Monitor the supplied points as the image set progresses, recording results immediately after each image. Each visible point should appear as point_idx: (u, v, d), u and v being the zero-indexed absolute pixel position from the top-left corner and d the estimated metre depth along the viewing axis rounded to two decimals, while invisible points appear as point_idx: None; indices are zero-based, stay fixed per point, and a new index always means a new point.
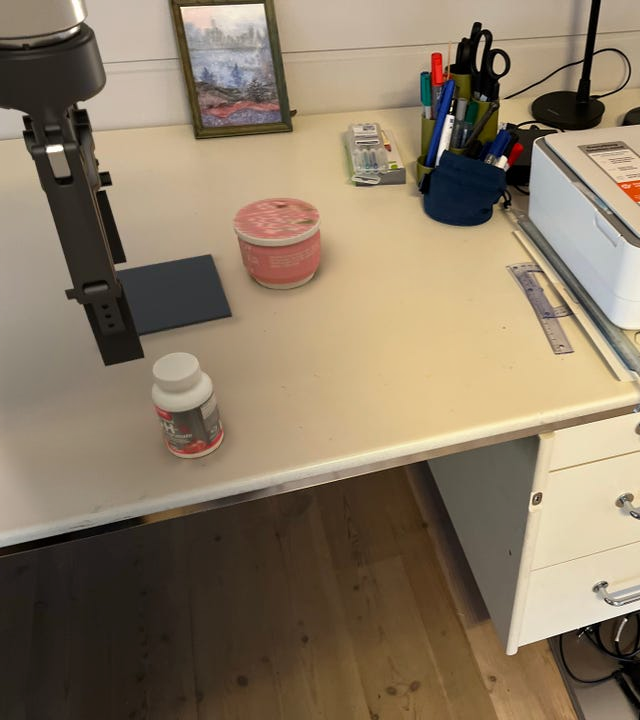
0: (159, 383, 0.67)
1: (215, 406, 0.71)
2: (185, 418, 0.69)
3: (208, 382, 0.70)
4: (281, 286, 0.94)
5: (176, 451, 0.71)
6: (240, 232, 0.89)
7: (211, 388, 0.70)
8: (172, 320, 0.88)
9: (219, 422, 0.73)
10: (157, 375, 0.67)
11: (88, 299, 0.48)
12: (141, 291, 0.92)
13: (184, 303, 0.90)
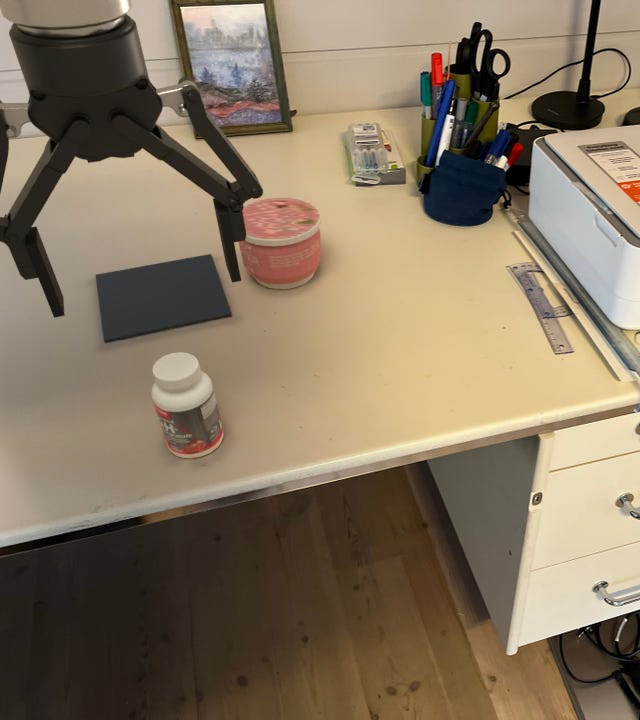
0: (159, 383, 0.67)
1: (215, 406, 0.71)
2: (185, 418, 0.69)
3: (208, 382, 0.70)
4: (281, 286, 0.94)
5: (176, 451, 0.71)
6: None
7: (211, 388, 0.70)
8: (172, 320, 0.88)
9: (219, 422, 0.73)
10: (157, 375, 0.67)
11: None
12: (141, 291, 0.92)
13: (184, 303, 0.90)
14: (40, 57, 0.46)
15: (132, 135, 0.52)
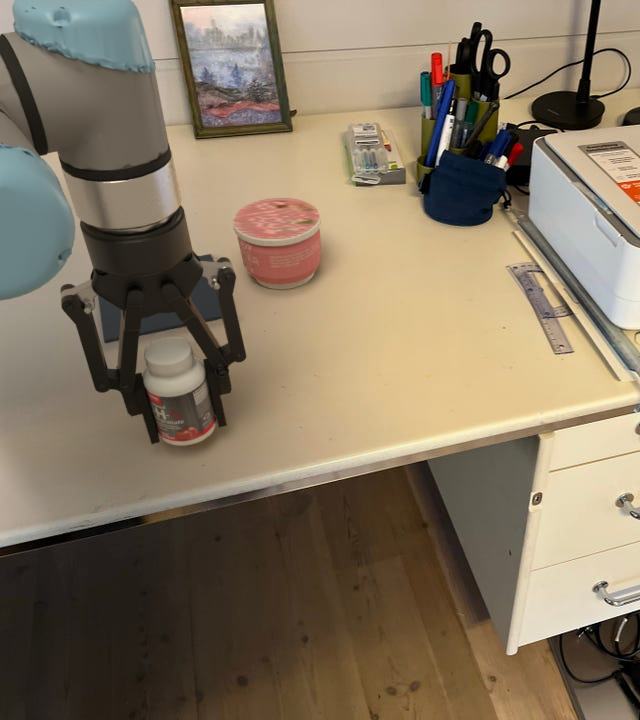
0: (151, 367, 0.65)
1: (208, 392, 0.70)
2: (177, 404, 0.67)
3: (201, 367, 0.68)
4: (281, 286, 0.94)
5: (167, 438, 0.70)
6: (240, 232, 0.89)
7: (204, 374, 0.69)
8: (172, 320, 0.88)
9: (212, 409, 0.71)
10: (148, 359, 0.65)
11: None
12: None
13: None
14: (107, 249, 0.56)
15: (177, 297, 0.62)
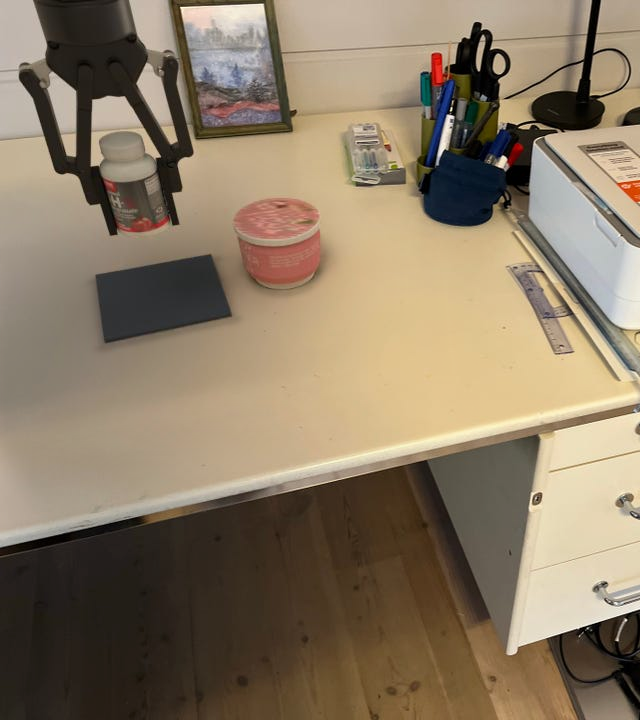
0: (105, 152, 0.72)
1: (159, 186, 0.77)
2: (130, 190, 0.74)
3: (153, 160, 0.75)
4: (281, 286, 0.94)
5: (124, 229, 0.77)
6: (240, 232, 0.89)
7: (155, 166, 0.75)
8: (172, 320, 0.88)
9: (165, 206, 0.78)
10: (102, 144, 0.72)
11: None
12: (141, 291, 0.92)
13: (184, 303, 0.90)
14: (55, 15, 0.62)
15: (124, 78, 0.69)
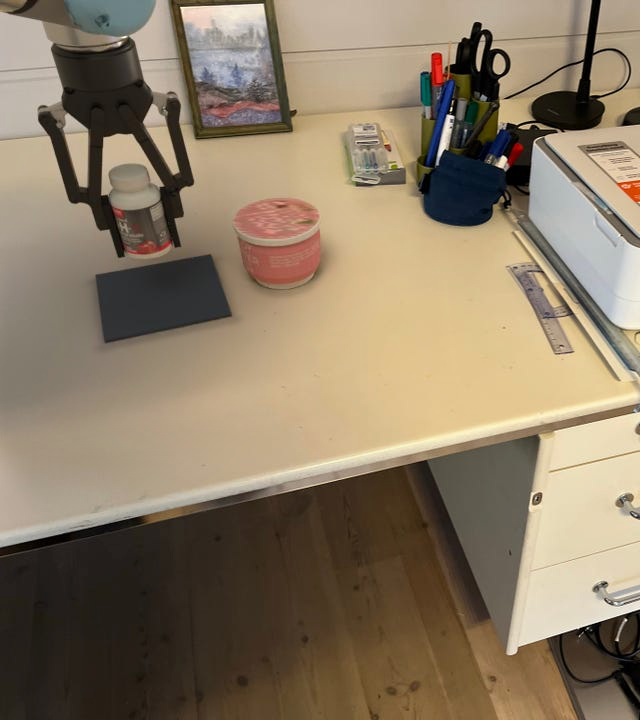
0: (114, 183, 0.80)
1: (163, 213, 0.84)
2: (136, 217, 0.82)
3: (157, 189, 0.83)
4: (281, 286, 0.94)
5: (131, 251, 0.85)
6: (240, 232, 0.89)
7: (159, 195, 0.83)
8: (172, 320, 0.88)
9: (168, 230, 0.86)
10: (112, 176, 0.80)
11: None
12: (141, 291, 0.92)
13: (184, 303, 0.90)
14: (72, 65, 0.70)
15: (132, 118, 0.76)
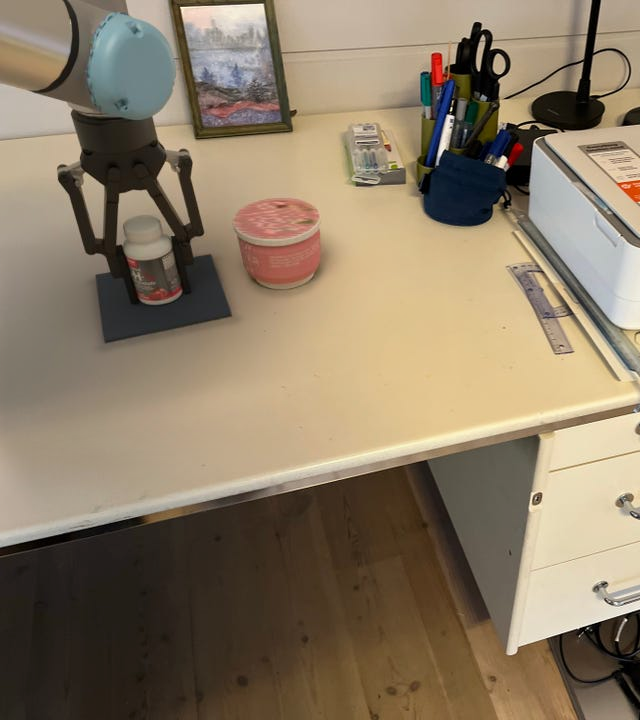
0: (128, 235, 0.84)
1: (174, 261, 0.88)
2: (149, 266, 0.86)
3: (169, 240, 0.87)
4: (281, 286, 0.94)
5: (143, 298, 0.89)
6: (240, 232, 0.89)
7: (171, 245, 0.87)
8: (172, 320, 0.88)
9: (178, 277, 0.90)
10: (126, 229, 0.84)
11: None
12: None
13: (184, 303, 0.90)
14: (91, 130, 0.74)
15: (147, 176, 0.80)
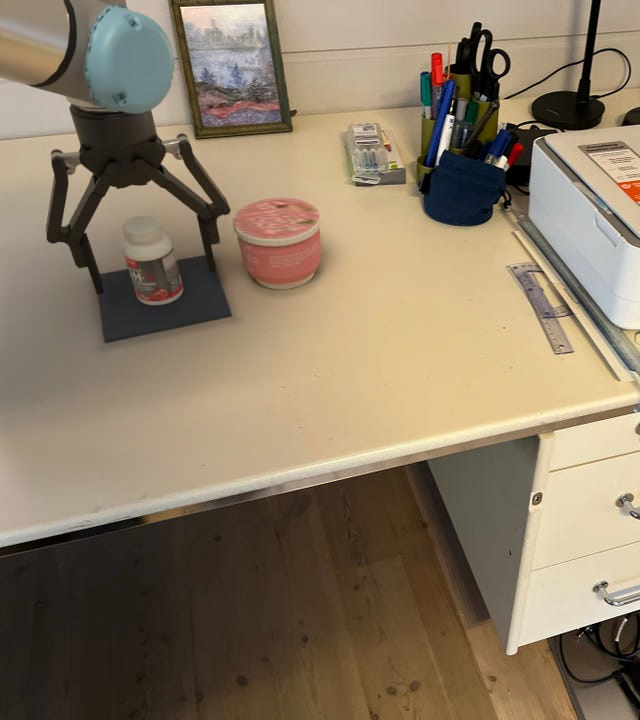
0: (128, 236, 0.84)
1: (174, 261, 0.88)
2: (149, 267, 0.86)
3: (169, 240, 0.87)
4: (281, 286, 0.94)
5: (144, 298, 0.89)
6: (240, 232, 0.89)
7: (171, 245, 0.87)
8: (172, 320, 0.88)
9: (179, 277, 0.90)
10: (126, 229, 0.84)
11: None
12: None
13: (184, 303, 0.90)
14: (90, 125, 0.74)
15: (146, 171, 0.80)
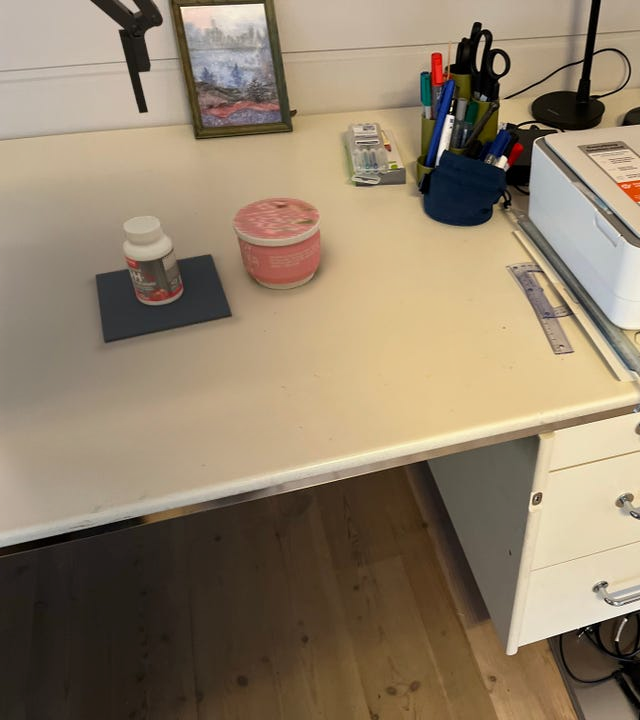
0: (128, 236, 0.84)
1: (174, 261, 0.88)
2: (149, 267, 0.86)
3: (169, 240, 0.87)
4: (281, 286, 0.94)
5: (144, 298, 0.89)
6: (240, 232, 0.89)
7: (171, 245, 0.87)
8: (172, 320, 0.88)
9: (179, 277, 0.90)
10: (126, 229, 0.84)
11: None
12: None
13: (184, 303, 0.90)
14: None
15: None
